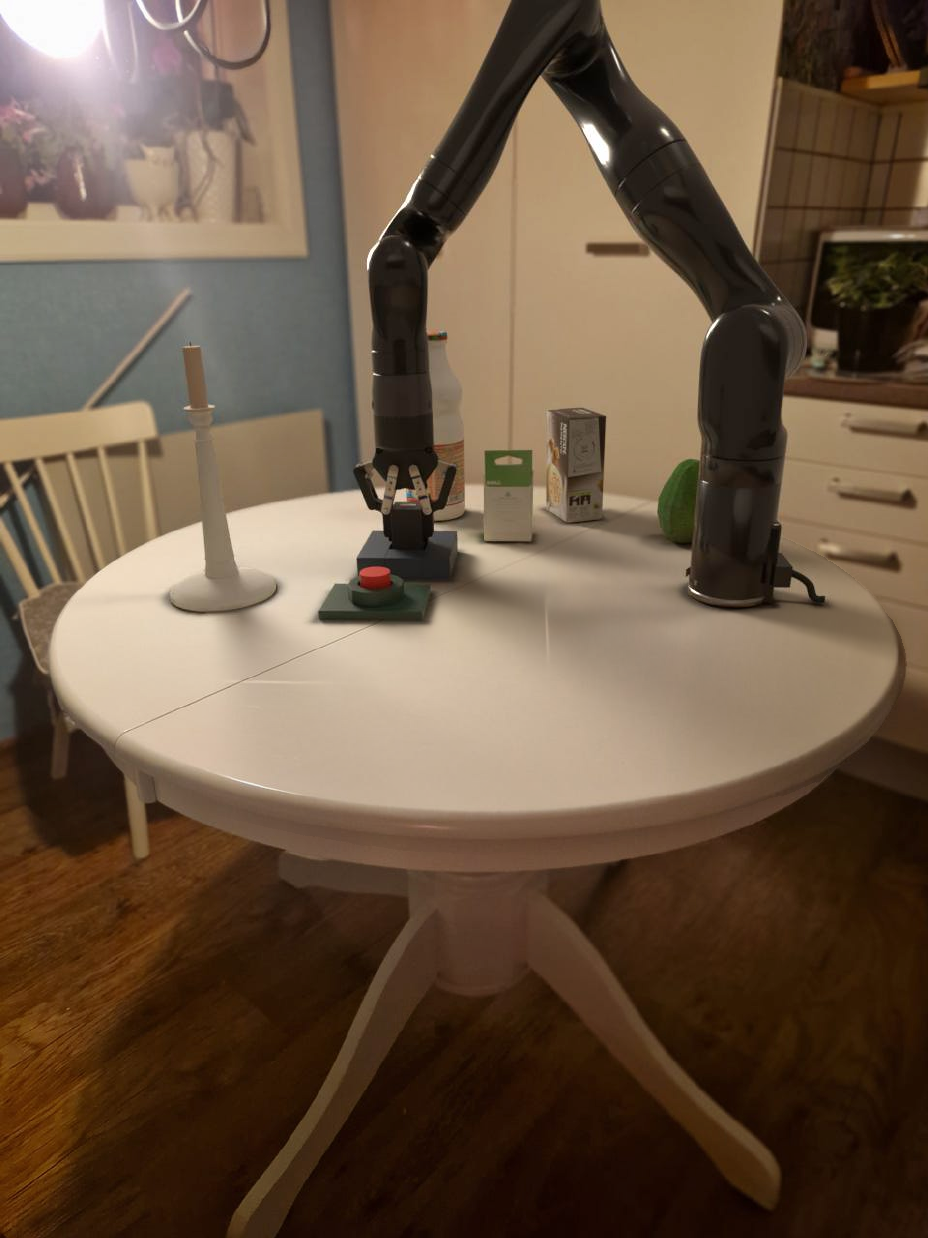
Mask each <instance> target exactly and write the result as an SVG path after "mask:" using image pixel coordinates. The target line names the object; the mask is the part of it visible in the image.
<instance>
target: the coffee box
mask: <svg viewBox="0 0 928 1238" xmlns="http://www.w3.org/2000/svg"><path fill="white" fill-rule="evenodd" d="M606 432H607V415H604V414H602V413H599V412H596V411H593V410H590V409H587V408H584V407H570V408H559V409H547V410H546V490H545V491H546V493H545V495H546V496H545V498H546V499H545V508H546V509H545V510H546V511H548V512H549V513H551V514H553V515H554V516H556V517H557V518H559V519H560V520H562V521H563V522H564V523H567V524H570V523H571V524H572V523H579V522H588V521H598V520H602V519H603V508H604V507H603V506H604V505H603V504H604V484H605V483H604V480H605V457H606V455H605V454H606V452H605V451H606Z"/></svg>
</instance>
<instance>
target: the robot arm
mask: <svg viewBox="0 0 928 1238" xmlns="http://www.w3.org/2000/svg"><path fill="white" fill-rule="evenodd" d="M540 77H541V78H542V80H543V81H544V82H545V83H546V84H547V86H548V87H549V88H550V90H552V92H553V93H554V94H555V96H556V97H557V99H559V101H560V102H561V104H562V105H563V106H564V107H565V109H566V110H567V111H568V113H569V115H571V117H572V119H573V121H575V123H576V125H577V126H578V128H579V130H580V132H581V134H582V136H583V137H584V140H585V142H586V144H587V146H588V149H589V151H590V153H591V155H592V158H593V160H594V162H595V164H596V166H597V168H598V171H599V172H600V174H601V176H602V178H603V180H604V181H605V184H606V186H607V187H608V189H609V191H610V193H611V195H612V197H613V199H614V200H615V202H616V204H617V205H618V207H619V208H620V210H621V212H622V213H623V215H624V217H625V218H626V220H627V221H628V223H629V225H630V226H631V228H632V229H633V231H634V232H635V233H636V234H637V236H638V237H639V238H640V239H641V241H642V242H643V243H644V245H646V246H647V248H648V249H649V250H650V251H651V252H652V253H653V254H654V255H655V256H656V257H657V258H658V259H660V261H661V262H663V263H664V264H665V265H666V266H667V267H668V268H669V269H670V270H671V271H672V272H673V273H674V274H675V275H677V276H678V277H679V278H680V279H681V280H682V281H683V282H684V283H685V284H686V285H687V286H688V287H689V289H690V290H691V291H692V293H693V294H694V295H695V297H697V299H698V301H699V303H700V304H701V305H702V307H703V309H704V310H705V313H706V315H707V316H708V318H709V320H710V322H711V323H710V325H709V327H708V328H707V330H706V333H705V335H704V337H703V338H704V339H703V342H702V347H701V350H700V360H699V371H698V390H697V391H698V392H697V411H696V412H697V415H696V417H697V418H696V419H697V426H698V431H699V433H700V453H699V455H700V456H699V460H700V464H699V475H698V486H697V497H696V508H695V519H694V530H693V542H691V554H690V565H689V567H687V568H685V577H688V581H687V589H686V591H687V593H688V595H689V596H690V597H691V598H693V599H695V600H697V601H699V602H702V603H704V604H707V605H712V606H716V607H723V608H724V607H725V608H748V607H753V606H758V605H761V604H772V603H773V598H774V590H775V589H776V588H777V589H780V588H781V589H788V588H791V583H792V579H795V580H796V581H799V582H800V583H802V584H803V585H804V586H805V587H806V591H807V595H808V597H809V599H810V601H812V602H813V603H816V604H825V602H826V595H817V593H816V587H815V585H814V583H813V582H812V580H811V579H810V578H809V577H807V576H806V575H805V574H804V573H801V572H799V571H797V570H795V569H794V566H793V565H792V564H791V562H790V561H789V560H788V559H787V557H785V555H784V554H783V553H782V552H780V547H781V546H780V545H781V537H782V529H783V527H782V524H781V523H780V522H779V520H778V517H779V516H778V515H779V508H780V501H781V491H782V485H783V477H784V468H785V461H786V454H787V453H786V452H787V445H788V438H789V437H788V436H789V435H788V430H787V429H786V427H785V426H784V423H783V414H782V413H783V411H782V410H783V403H784V402H783V401H784V391H785V381H787V380H788V379H791V377H793V376H794V374H796V372H797V371H798V370H799V369H800V367H801V366H802V364H803V362H804V360H805V358H806V354H807V349H808V337H807V336H808V335H807V330H806V326H805V324H804V321H803V319H802V318H801V316H800V315H799V313H798V312H797V311H796V309H795V307H794V306H793V305H792V304H791V302H789V300H788V299H787V297H785V295H784V294H783V292H782V291H781V290H780V289H779V287H777V285H776V284H775V282H774V281H773V280H772V279H771V277H770V276H769V275H768V274H767V272H766V271H765V270H764V268H763V267H762V266H761V264H760V263H759V262H758V261H757V259H756V258H755V256H754V255H753V253H752V252H751V250H750V249H749V247H748V245H747V243H746V242H745V240H744V238H743V236H742V234H741V231H740V230H739V228H738V227H737V224H736V223H735V220H734V219H733V217H732V215H731V213H730V211H729V209H727V207H726V205H725V203H724V201H723V200H722V197H721V196H720V194H719V192H718V191H717V189H716V188H715V186H714V184H713V183H712V181H711V179H710V177H709V175H708V173H707V172H706V170H705V168H704V166H703V164H702V163H701V160H699V157H698V156H697V155H696V153H695V151H694V150H693V148H692V146H691V144H690V143H689V141H688V140H687V139H686V137H685V136H684V134H683V133H682V131H681V130H680V128H679V127H678V126H677V125H676V123H675V122H674V121H673V120H672V119H671V118H670V116H668V115H667V114H666V112H664V111H663V110H662V109H661V108H660V107H659V106H658V105H657V104H656V103H655V102H653V101H652V100H651V99H650V98H649V97H648V96H647V95H646V94H644V93H643V91H642V90H641V89H640V88H639V87H638V86H637V84H636V83H635V82H634V80H633V79H632V77H631V76H630V74H629V72H628V70H627V68H626V67H625V65H624V63H623V61H622V58H621V57H620V55H619V52H618V51H617V49H616V47H615V45H614V42H613V41H612V38H611V36H610V33H609V31H608V28H607V26H606V22H605V18H604V15H603V8H602V1H601V0H510V2H509V4H508V6H507V8H506V11H505V13H504V15H503V17H502V20H501V23H500V25H499V26H498V29H497V32H496V34H495V36H494V38H493V40H492V42H491V45H490V47H489V49H488V51H487V53H486V55H485V57H484V59H483V61H482V63H481V65H480V67H479V69H478V71H477V74H476V75H475V78H474V80H473V82H472V84H471V86H470V88H469V90H468V92H467V94H466V96H464V97H465V98H464V99H463V102H462V103H461V105H460V107H459V108H458V110H457V112H456V113H455V116H454V117H453V119H452V121H451V122H450V124H449V125H448V127H447V129H446V131H445V133H444V134H443V135H442V138H441V139H440V141H439V143H438V144H437V146H436V147H435V149H434V150H433V152H432V153H431V155H430V156H429V158H428V159H427V161H426V163H425V164H424V166H423V168H422V169H421V170H420V172H419V173H418V176H417V177H416V179H415V180H414V182H413V184H411V187H410V189H409V192H407V193H408V194H407V196H406V197H405V200H404V203H403V204H402V205H401V207H400V208H399V209H398V210H397V212H396V214H395V215H394V217H393V218H392V219H391V221H390V222H389V223H388V225H387V226H386V228H385V229H384V230H383V232H382V233H381V235H380V236H379V238H378V239H377V240H376V242H375V243H374V245H373V246H372V248H371V249H370V251H369V253H368V255H367V259H366V275H367V283H368V294H369V303H370V313H371V321H372V329H371V341H370V343H371V364H372V372H373V373H372V385H371V386H372V387H371V388H372V389H371V397H372V398H371V409H372V416H373V430H374V448H375V449H374V455H373V457H372V459H371V460H369V461H366V462H359V463H357V464H356V465H355V467H354V468H353V470H352V471H353V472H352V473H353V475H354V477H355V481H356V483H357V485H358V488H359V490H360V493H361V494H362V497H363V499H364V502H365V504H366V506H367V508H368V510H370V511H377V512H379V513H381V516H382V531H383V533H384V536H385V537H388V538H389V541H392V527H391V508H392V506H393V505H394V503H395V498H396V494H397V491H400V490H405V489H406V488H407V489H411V490H416V493H417V497H418V499H419V501H420V504H421V507H422V510H423V515H422V520H423V541H428V540H429V537H432V535H433V532H434V531H435V521H434V512H435V511H437V510H443V509H444V508H445V506H446V503H447V500H448V497H449V494H450V491H451V488H452V484H453V481H454V478H455V475H456V472H457V469H458V465H457V464H456V463H455V462H452V463H447V462H444V461H441V460H439V459H438V456H437V454H436V453H435V450H434V428H433V398H432V385H431V380H430V372H429V344H428V335H427V331H428V328H427V323H428V322H427V321H428V320H427V319H428V304H429V303H428V300H429V299H428V298H429V270H430V268H431V267H432V265H433V263H434V262H435V260H436V258H437V257H438V255H439V254H440V252H441V251H442V249H443V248H444V246H445V244H446V242H447V241H448V240H449V238H450V237H451V236H453V235H454V234H455V233H456V232H457V230H458V229H459V228H460V227H461V226H462V224H463V223H464V221H466V218H467V217H468V215H470V213H471V211H472V210H473V208H474V206H475V205H476V203H477V202H478V200H479V199H480V197H481V196H482V195H483V193H484V192H485V189H486V188H487V186H488V185H489V183H490V181H491V179H492V178H493V175H494V174H495V172H496V170H497V167H498V165H499V162H500V161H501V158H502V155H503V153H504V150H505V147H506V145H507V142H508V139H509V137H510V134H511V132H512V130H513V127H514V125H515V122H516V120H517V118H518V115H519V113H520V110H521V109H522V106H523V105H524V103H525V101H526V99H527V97H528V96H529V94H530V92H531V91H532V89H533V87H534V86H535V84H536V83H537V81H538V79H539V78H540ZM436 468H437V469H438V470H439V472H440V474H439V476H440V478H441V479H443V480H444V481H443V485H442V488H441V491H440V494H439V497H438V498H437V499H435V500H432V498H431V494H430V489H429V485H428V482H427V480H428V479H429V477H430V476H431V474H432V473H433V471H434V470H435V469H436ZM374 470H375V471H376V473H378V475H379V476H380V478H381V479H382V480H383V481H384V482H385V487H384V492H383V498H382V499H381V498H379V495H378V493H377V491H376V489H375V486H374V484H373V480H372V478H373V476H374Z"/></svg>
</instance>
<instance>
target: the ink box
mask: <svg viewBox="0 0 928 1238" xmlns="http://www.w3.org/2000/svg"><path fill="white" fill-rule="evenodd" d="M483 454H484V455H483V456H484V474H483V540H484V542H532V539H533V538H532V537H533V511H534V510H533V507H534V506H533V504H534V470H533V449H495V450H494V449H489V450H488V449H487V450H486V449H485V450H484V451H483ZM508 457H510V458H516V459H520V460H521V462H520V463H507V464H506V463H505V464H504V463H503V464H501V463H498V464H497V463H496V461H497V460H499V459H502V458H508Z"/></svg>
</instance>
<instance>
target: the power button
mask: <svg viewBox="0 0 928 1238" xmlns="http://www.w3.org/2000/svg"><path fill="white" fill-rule="evenodd" d="M359 573H360V587H361V588H365V589H381V588H387V587H389V586H391V576H390V570H389V569H388V568H385V567H368V568H364V569H362V570H361V571H360V572H359Z"/></svg>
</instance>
